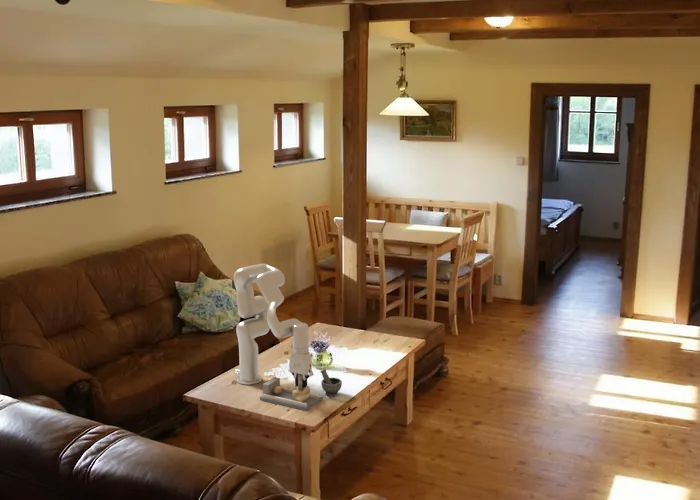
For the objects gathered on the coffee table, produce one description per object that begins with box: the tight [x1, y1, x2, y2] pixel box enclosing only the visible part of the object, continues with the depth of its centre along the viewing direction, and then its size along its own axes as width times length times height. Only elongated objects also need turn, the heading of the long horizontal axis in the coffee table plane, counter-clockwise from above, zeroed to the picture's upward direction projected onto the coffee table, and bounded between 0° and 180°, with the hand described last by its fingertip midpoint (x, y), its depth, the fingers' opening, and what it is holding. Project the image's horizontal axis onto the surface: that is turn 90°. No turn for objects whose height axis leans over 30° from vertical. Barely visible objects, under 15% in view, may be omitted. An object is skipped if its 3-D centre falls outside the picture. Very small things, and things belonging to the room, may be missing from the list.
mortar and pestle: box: [320, 368, 343, 398], centre depth 380 cm, size 11×9×12 cm
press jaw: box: [292, 374, 311, 402], centre depth 370 cm, size 4×9×16 cm, turn 152°
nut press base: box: [259, 376, 323, 412], centre depth 374 cm, size 26×14×8 cm, turn 62°
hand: (301, 386), depth 370 cm, fingers closed on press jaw, 3 cm apart
